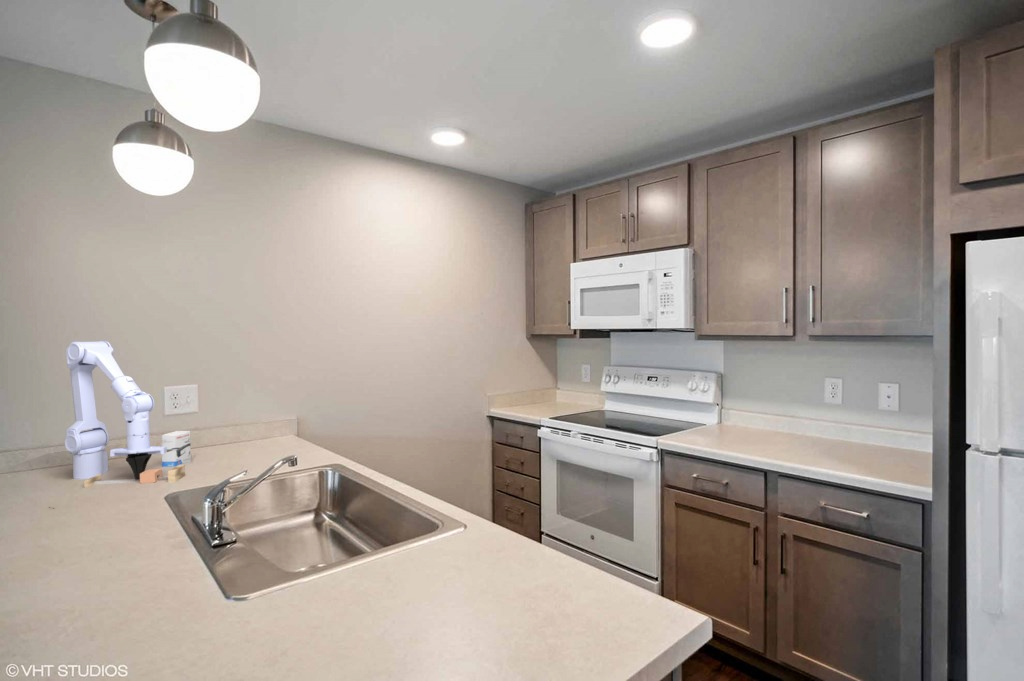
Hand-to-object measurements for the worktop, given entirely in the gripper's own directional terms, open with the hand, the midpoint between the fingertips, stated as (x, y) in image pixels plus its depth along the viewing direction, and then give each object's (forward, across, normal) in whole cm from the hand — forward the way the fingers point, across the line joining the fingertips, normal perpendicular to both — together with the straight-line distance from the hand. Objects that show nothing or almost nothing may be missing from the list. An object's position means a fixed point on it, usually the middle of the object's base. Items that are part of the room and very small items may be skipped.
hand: (139, 478), depth 156 cm
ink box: (+2, +2, +21) cm, 21 cm away
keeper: (+1, +3, 0) cm, 3 cm away
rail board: (+2, -1, 0) cm, 2 cm away
